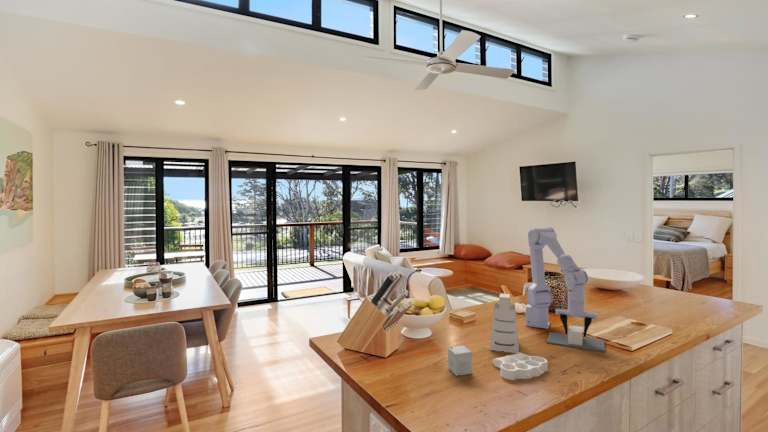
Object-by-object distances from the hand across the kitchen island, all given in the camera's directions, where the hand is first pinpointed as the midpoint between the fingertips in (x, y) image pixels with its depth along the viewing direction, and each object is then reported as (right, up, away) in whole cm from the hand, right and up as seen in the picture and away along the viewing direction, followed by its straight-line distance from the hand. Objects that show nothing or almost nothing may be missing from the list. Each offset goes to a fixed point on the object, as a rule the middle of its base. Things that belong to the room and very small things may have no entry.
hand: (575, 334), depth 152 cm
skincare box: (-51, -5, -23) cm, 56 cm away
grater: (-29, -4, -3) cm, 30 cm away
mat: (0, -3, 0) cm, 3 cm away
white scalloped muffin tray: (-30, -5, -23) cm, 38 cm away
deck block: (0, -2, 0) cm, 2 cm away
